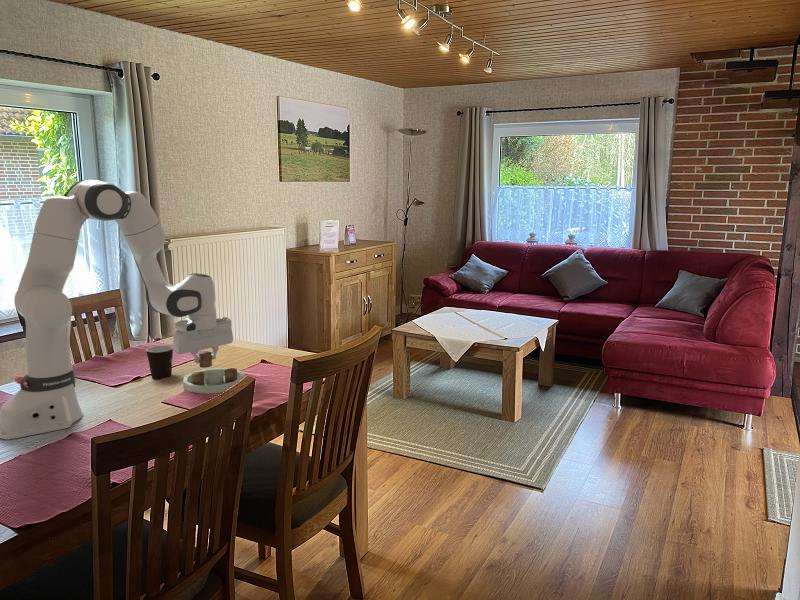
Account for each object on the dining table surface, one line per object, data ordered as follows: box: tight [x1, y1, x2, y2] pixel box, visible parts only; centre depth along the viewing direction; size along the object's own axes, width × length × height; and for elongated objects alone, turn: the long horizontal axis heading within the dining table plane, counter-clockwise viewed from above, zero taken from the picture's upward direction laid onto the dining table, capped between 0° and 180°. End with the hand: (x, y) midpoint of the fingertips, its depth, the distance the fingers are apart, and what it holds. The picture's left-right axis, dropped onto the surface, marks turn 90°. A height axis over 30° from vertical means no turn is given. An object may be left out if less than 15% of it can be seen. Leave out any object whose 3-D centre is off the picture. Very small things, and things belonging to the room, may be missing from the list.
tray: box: [182, 367, 245, 394], centre depth 208 cm, size 20×20×3 cm
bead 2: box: [198, 350, 213, 369], centre depth 211 cm, size 4×4×4 cm
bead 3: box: [225, 367, 238, 384], centre depth 208 cm, size 4×4×4 cm
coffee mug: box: [145, 344, 174, 380], centre depth 218 cm, size 12×9×10 cm
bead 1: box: [191, 371, 205, 386], centre depth 204 cm, size 4×4×4 cm
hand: (205, 361), depth 211 cm, fingers closed on bead 2, 4 cm apart
